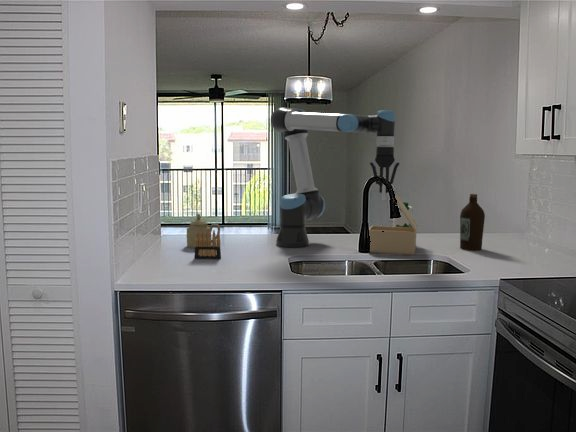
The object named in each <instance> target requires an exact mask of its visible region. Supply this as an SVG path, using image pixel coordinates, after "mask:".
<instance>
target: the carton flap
mask: <svg viewBox="0 0 576 432" xmlns="http://www.w3.org/2000/svg"><path fill="white" fill-rule="evenodd" d="M392 189H393V191H394V194H395V198H396V200H397V203H396V206H399V208H400V209H401V211H402V212H403V214H404V215H405V217H406V218H407V220H408V221H409V223H410V224H411V226H412V228H413V229H414V230H415V231H416V232H417V230H418V227H419V225H418V223H417V222H416V220H415V219H414V217H413V215H412V216H411V214H410V213H409V211H408V210H407V208H406V207H405V205H404V204H403V200H402V199H401V197H400V196H399V195H398V193H397V191H396V190H395V188H392Z"/></svg>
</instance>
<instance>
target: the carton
mask: <svg viewBox="0 0 576 432" xmlns="http://www.w3.org/2000/svg"><path fill="white" fill-rule="evenodd" d="M368 229H369V236H370V241H371V242H370V252H376V254H385V255H386V254H387V255H402V256H403V255H406V256H414V255H415V253H416V250H417V248H416V247H417V246H416V245H417V230H416V231H415V230H414V229H413V227H412V228H410V227H393V226H386V225H385V226H384V225H371V226H370V227H369V228H368ZM382 231H384V232H382Z"/></svg>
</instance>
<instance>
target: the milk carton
mask: <svg viewBox="0 0 576 432" xmlns="http://www.w3.org/2000/svg"><path fill="white" fill-rule="evenodd" d="M402 202H403V201H402ZM403 204H404V205H405V207H406V208H407V210H408V211H409V213H410V214H411V216H412V217H413V213H414V212H413V206H411V205H409V202H403ZM397 206H398V205H397ZM398 208H399V206H398ZM399 212H400V215H401V217H400V218H393V219H392V220H393V221H392V227H410V228H413V227H412V226H411V224H410V223H409V221H408V220H407V218H406V217H405V215H404V214H403V212H402V211H401V209H400V208H399Z"/></svg>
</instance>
